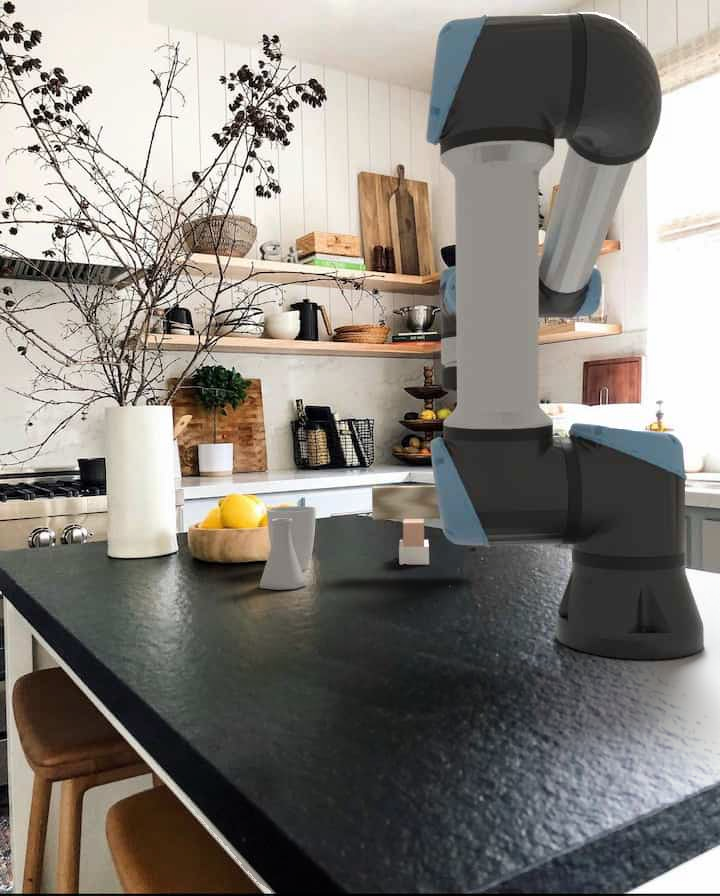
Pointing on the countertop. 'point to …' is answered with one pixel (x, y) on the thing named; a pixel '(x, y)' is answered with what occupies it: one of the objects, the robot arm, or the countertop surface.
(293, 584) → the flask
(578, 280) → the robot arm
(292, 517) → the cup
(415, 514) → the bar
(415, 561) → the block
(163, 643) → the countertop surface
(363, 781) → the countertop surface
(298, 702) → the countertop surface
